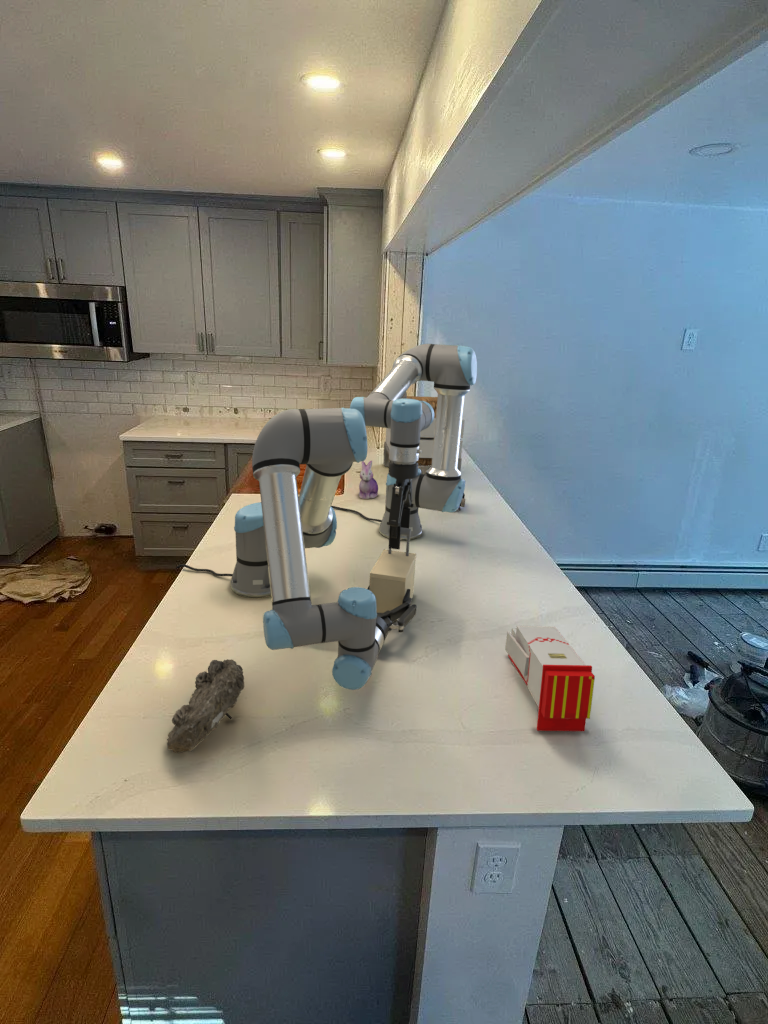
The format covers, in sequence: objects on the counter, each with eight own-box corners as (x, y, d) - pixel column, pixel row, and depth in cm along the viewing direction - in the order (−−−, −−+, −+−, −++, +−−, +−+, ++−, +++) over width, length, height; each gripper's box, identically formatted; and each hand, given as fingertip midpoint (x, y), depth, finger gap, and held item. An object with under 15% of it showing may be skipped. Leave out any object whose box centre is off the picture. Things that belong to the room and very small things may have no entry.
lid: (383, 553, 156) (385, 522, 153) (416, 557, 154) (418, 526, 151) (369, 577, 142) (370, 543, 139) (405, 582, 140) (407, 548, 137)
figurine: (363, 500, 232) (364, 465, 227) (352, 493, 240) (353, 459, 235) (383, 498, 236) (385, 463, 231) (372, 491, 244) (373, 457, 239)
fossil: (192, 660, 117) (244, 628, 112) (224, 691, 120) (276, 661, 115) (142, 746, 98) (202, 712, 93) (182, 779, 101) (242, 748, 96)
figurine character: (465, 515, 224) (460, 499, 237) (467, 498, 221) (462, 483, 234) (448, 515, 224) (444, 499, 237) (450, 498, 220) (445, 482, 234)
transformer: (382, 463, 289) (386, 382, 275) (445, 464, 293) (451, 384, 279) (390, 482, 257) (394, 392, 243) (460, 483, 261) (468, 394, 247)
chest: (381, 591, 159) (382, 554, 155) (413, 595, 157) (415, 559, 153) (368, 616, 146) (369, 577, 142) (403, 621, 144) (405, 582, 140)
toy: (551, 610, 133) (604, 672, 104) (546, 663, 136) (596, 738, 106) (500, 609, 132) (538, 671, 103) (496, 662, 135) (532, 737, 106)
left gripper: (321, 643, 129) (348, 597, 150) (415, 659, 125) (430, 610, 145) (321, 614, 127) (349, 572, 147) (417, 629, 122) (432, 583, 143)
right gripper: (409, 475, 132) (404, 559, 139) (425, 451, 155) (420, 524, 162) (378, 472, 133) (374, 555, 141) (399, 449, 156) (395, 521, 163)
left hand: (389, 590), depth 146 cm, fingers closed on chest, 9 cm apart
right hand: (399, 539), depth 151 cm, fingers open, 12 cm apart
